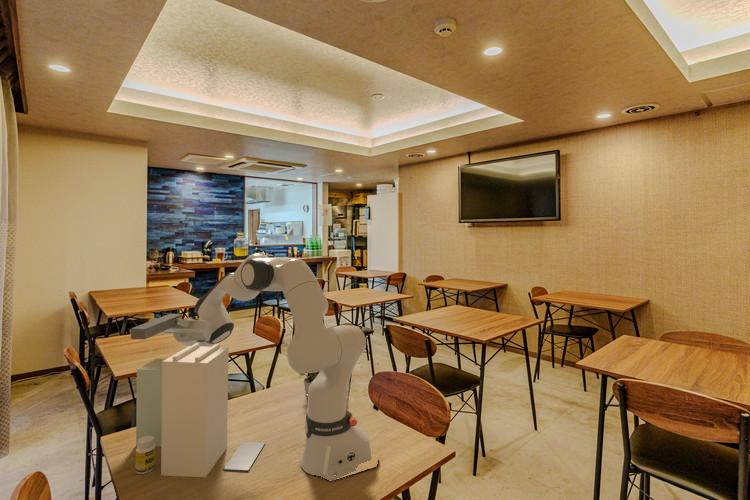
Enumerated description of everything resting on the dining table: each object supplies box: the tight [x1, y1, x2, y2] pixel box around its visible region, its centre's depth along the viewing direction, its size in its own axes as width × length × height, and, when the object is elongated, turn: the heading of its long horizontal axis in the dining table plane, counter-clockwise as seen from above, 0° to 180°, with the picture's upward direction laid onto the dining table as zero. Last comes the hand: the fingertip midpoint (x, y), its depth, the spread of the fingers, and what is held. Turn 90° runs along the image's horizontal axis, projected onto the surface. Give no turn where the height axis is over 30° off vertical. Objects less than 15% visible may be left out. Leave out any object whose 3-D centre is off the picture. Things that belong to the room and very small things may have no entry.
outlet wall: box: [160, 343, 230, 478], centre depth 109 cm, size 14×12×32 cm
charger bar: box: [130, 313, 183, 341], centre depth 119 cm, size 20×4×3 cm, turn 179°
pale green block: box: [135, 358, 167, 447], centre depth 120 cm, size 10×8×24 cm
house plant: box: [298, 371, 320, 395], centre depth 155 cm, size 14×14×16 cm
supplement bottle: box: [134, 436, 157, 475], centre depth 104 cm, size 5×5×8 cm
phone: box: [223, 441, 266, 473], centre depth 112 cm, size 14×7×1 cm, turn 177°
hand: (169, 319), depth 124 cm, fingers closed on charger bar, 4 cm apart
